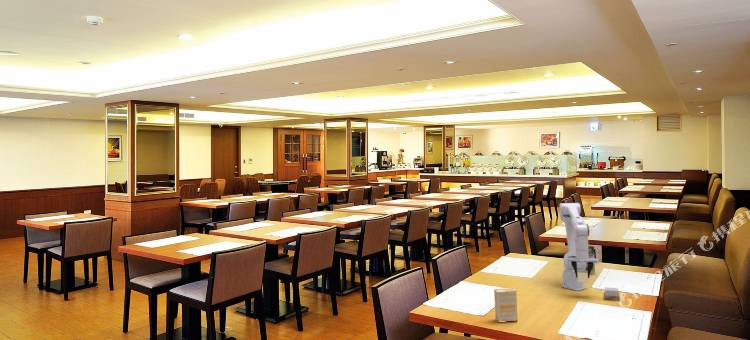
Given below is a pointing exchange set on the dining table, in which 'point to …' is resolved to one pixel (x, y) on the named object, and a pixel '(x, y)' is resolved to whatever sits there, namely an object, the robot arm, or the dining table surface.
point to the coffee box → (591, 255)
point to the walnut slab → (611, 298)
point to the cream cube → (582, 276)
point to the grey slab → (611, 291)
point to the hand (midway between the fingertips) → (582, 277)
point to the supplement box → (505, 304)
